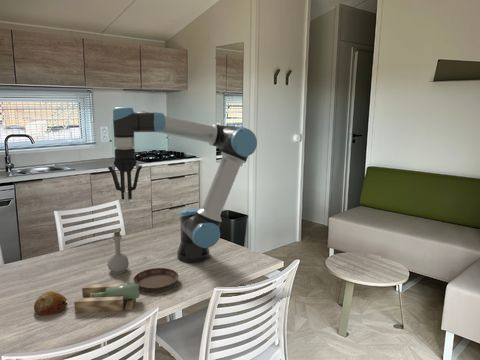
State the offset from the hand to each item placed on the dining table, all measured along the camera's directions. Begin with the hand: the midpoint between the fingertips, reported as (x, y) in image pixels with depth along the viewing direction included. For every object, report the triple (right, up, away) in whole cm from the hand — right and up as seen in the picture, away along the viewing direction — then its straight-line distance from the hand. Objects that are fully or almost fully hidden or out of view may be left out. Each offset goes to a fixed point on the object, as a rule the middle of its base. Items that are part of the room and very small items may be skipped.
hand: (127, 207), depth 162 cm
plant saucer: (+11, -31, +3) cm, 33 cm away
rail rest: (-4, -34, -13) cm, 36 cm away
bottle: (+8, -30, -13) cm, 33 cm away
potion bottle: (-7, -28, +14) cm, 32 cm away
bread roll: (-22, -35, -18) cm, 45 cm away
